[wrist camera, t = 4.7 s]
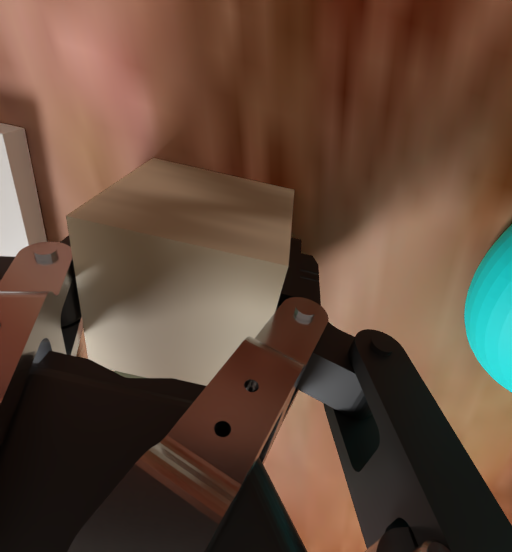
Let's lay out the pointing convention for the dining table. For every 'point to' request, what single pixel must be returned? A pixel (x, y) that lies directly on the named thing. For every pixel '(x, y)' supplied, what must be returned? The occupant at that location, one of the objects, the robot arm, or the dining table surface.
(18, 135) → the base plate
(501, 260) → the donuts
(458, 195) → the dining table surface
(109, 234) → the birch block
